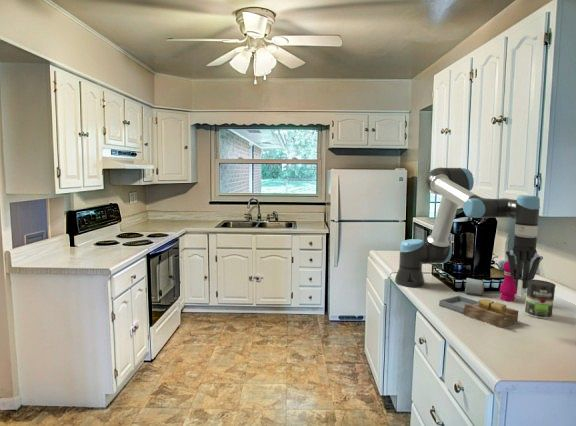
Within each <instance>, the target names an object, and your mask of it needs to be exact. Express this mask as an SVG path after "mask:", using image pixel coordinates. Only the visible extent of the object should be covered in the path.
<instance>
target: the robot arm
mask: <svg viewBox="0 0 576 426" xmlns="http://www.w3.org/2000/svg"><path fill="white" fill-rule="evenodd" d="M472 173H473V172H472V171H470V169H468V168H465V167H464V168H463V167H436V168H433V169H432V170H430V171H429V172H428V173H427V175H426V178H425V185H426V187H427V188H428V190H429V191H430V192H432V193H434V194H437V195H440V196H441V199H440V201H439V206H438V209H437V213H436V217H435V220H434V223H433V227H432V230H431V234H430V235H428V236H427V238H426V241H424V240H423V239H419V238H415V239H414V238H411V239H406V240H405V239H404V240H403V241H401V243H400V248H399V262H398V263H399V265H398V266H399V267H398V270H397V272H396V275H395V278H394V283H396V284H397V285H400V286H402V287H403V286H404V287H409V288H419V287H420V288H421V287H423V286H424V285H425V278H424V274H423V265H429V264H430V265H431V264H432V265H433V264H436V265H439V264H445V263H447V262H449V261H450V259H451V257H452V254H453V251H452V250H453V248H452V245H451V242H450V240H449V237H450V234H451V230H452V227H453V223H454V221H455V217H456V214H457V210H458V207H460V208H462V210H463V213H464V215H465V216H466V217H468V218H474V219H479V218H482V219H483V218H484V219H485V218H487V219H488V218H490V219H491V218H495V219H496V218H497V219H498V218H501V219H502V218H505V219H506V218H507V219H514V220H515V222H514V223H515V224H514V234H515V235H514V236H513V247H512V249H511V250H508V251H506V252H505V254H506V256H507V259H508V261H509V266H510V272H511V276H513V277H514V279H515V285H516V288H517V293H516V297H520V298H522V297H525V296H526V290H527V287H528V280H535V277H536V274H537V272H538V269H539V265H540V263H541V261H542V260H543V259H544V257H543V256H541V255H540V254H539V253H538V251H537V241H538V238H537V236H538V231H539V230H538V228H539V219H540V217H539V216H540V209H541V205H540V204H541V203H540V202H541V201H540V200H541V198H540V197H539V196H537V195H528V194H527V195H523V194H522V195H521V194H520V195H518V196H517V198H516V199H513V198H512V199H511V198H508V197H507V198H504V197H502V198H484V197H481V196H480V195H477V194H476V193H474V192H472V190H473V187H474V186H475V185H474V181H475V179H474V177H473V174H472ZM532 259H533V261H532ZM531 263H532V265H531ZM516 264H517V265H516Z"/></svg>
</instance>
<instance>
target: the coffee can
mask: <svg viewBox="0 0 576 426" xmlns="http://www.w3.org/2000/svg"><path fill="white" fill-rule="evenodd" d="M555 290H556V284H555V283H553V282H551V281H546V280H541V279H532V280H528V287H527V288H526V291H525V303H524V305H525V306H524V314H525V315H527V316H528V317H529V316H530V317H532V318H536V319H540V320H550V319H552V318H553V309H554V300H555V292H556V291H555Z"/></svg>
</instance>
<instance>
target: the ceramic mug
mask: <svg viewBox="0 0 576 426" xmlns="http://www.w3.org/2000/svg"><path fill="white" fill-rule="evenodd" d="M465 286H466V287H464V288H465V289H464V293H465V294H469V295H478V296H482V295H483V294H484V290H485V282H484V281H483V280H481V279H475V278H470V277H467V278H465Z"/></svg>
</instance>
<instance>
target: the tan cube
mask: <svg viewBox="0 0 576 426" xmlns="http://www.w3.org/2000/svg"><path fill="white" fill-rule="evenodd" d="M479 300H480V302H479V301H478V302H479V308H482V309H486V310H489V311H491V304H492V303H495V301H494V300H490V299H487V298H483V299H479Z"/></svg>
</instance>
